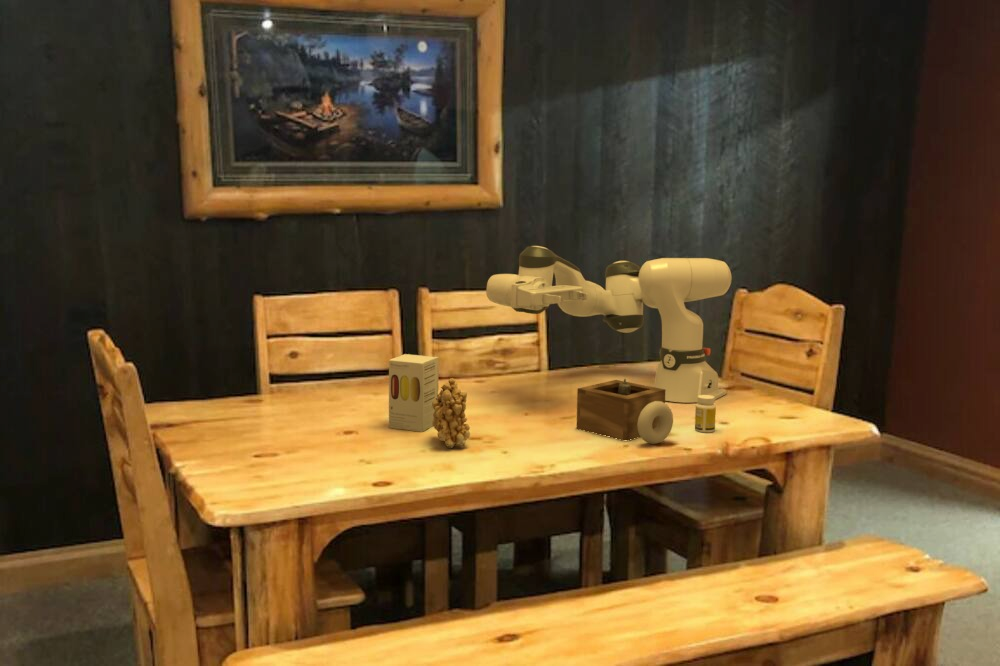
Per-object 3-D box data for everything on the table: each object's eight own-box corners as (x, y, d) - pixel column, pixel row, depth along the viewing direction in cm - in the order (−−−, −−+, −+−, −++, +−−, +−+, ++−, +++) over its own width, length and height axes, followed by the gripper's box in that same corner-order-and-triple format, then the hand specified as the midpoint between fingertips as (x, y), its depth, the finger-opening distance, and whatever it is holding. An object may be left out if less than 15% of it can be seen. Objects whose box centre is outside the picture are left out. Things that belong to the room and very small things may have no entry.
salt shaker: (632, 431, 219) (634, 382, 217) (608, 428, 220) (610, 379, 219) (637, 425, 224) (639, 377, 222) (613, 423, 226) (615, 375, 224)
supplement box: (387, 428, 221) (386, 359, 219) (404, 419, 230) (403, 353, 227) (423, 432, 218) (423, 362, 215) (439, 423, 227) (439, 356, 224)
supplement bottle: (715, 428, 224) (717, 395, 223) (713, 433, 220) (715, 399, 219) (695, 427, 226) (697, 393, 225) (693, 431, 221) (695, 397, 220)
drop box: (614, 418, 233) (616, 379, 232) (663, 429, 223) (665, 389, 221) (576, 428, 223) (577, 388, 221) (626, 441, 212) (627, 399, 211)
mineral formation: (440, 452, 202) (440, 385, 199) (422, 437, 214) (422, 373, 212) (474, 449, 205) (475, 383, 202) (455, 434, 217) (455, 371, 215)
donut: (643, 448, 207) (645, 405, 205) (633, 445, 209) (634, 402, 208) (675, 442, 212) (677, 400, 211) (664, 438, 215) (666, 397, 213)
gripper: (559, 301, 251) (599, 307, 241) (507, 308, 236) (547, 314, 227) (560, 278, 250) (600, 283, 240) (507, 283, 235) (547, 288, 226)
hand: (573, 298), depth 233 cm, fingers open, 8 cm apart
